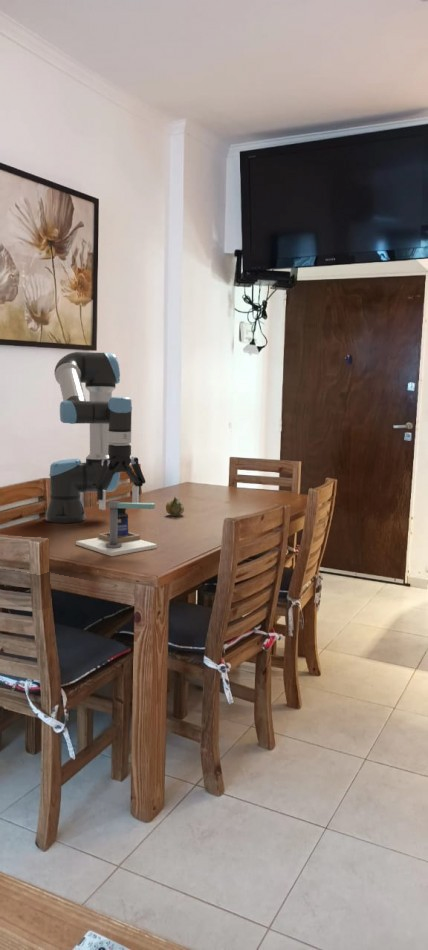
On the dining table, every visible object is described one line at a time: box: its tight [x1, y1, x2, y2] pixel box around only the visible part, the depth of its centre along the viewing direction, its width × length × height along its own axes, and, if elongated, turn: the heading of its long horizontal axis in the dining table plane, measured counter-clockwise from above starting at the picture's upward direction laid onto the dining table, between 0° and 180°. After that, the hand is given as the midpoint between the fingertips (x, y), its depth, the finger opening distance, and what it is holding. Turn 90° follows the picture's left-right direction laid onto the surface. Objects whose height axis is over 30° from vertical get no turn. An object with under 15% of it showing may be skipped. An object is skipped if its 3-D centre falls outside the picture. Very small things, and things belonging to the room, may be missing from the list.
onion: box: [165, 496, 185, 517], centre depth 288 cm, size 8×8×8 cm
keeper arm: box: [107, 500, 156, 510], centre depth 225 cm, size 15×4×2 cm, turn 89°
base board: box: [75, 508, 158, 557], centre depth 231 cm, size 20×18×14 cm
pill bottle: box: [117, 508, 129, 538], centre depth 237 cm, size 6×6×11 cm
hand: (119, 507), depth 237 cm, fingers open, 13 cm apart
